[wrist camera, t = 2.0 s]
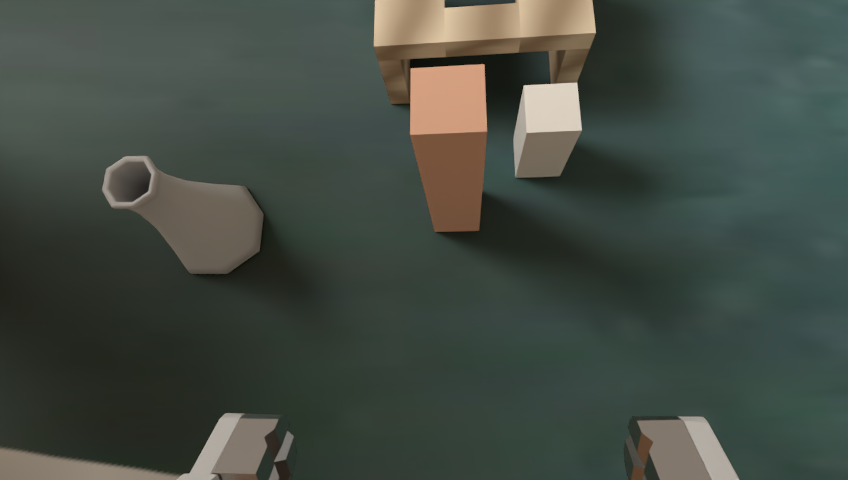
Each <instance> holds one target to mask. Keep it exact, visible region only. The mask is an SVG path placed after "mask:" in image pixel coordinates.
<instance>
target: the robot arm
mask: <svg viewBox="0 0 848 480" xmlns="http://www.w3.org/2000/svg"><path fill="white" fill-rule="evenodd" d="M289 425H290V423H289V420H288V418H287V415H276V414H248V413H225V414H224V415H223V416H222V417H221V418H220V419H219V421H218V422H217V424H216V426H215V428H214V430H213V432H212V433H211V435H210V437H209V439H208V441H207V443H206V444H205V446H204V448H203V450H202V452H201V453H200V455H199V457H198V459H197V461H196V463H195V464H194V466H193V468H192V470H191V472H190V473H189V474H183V475H181V476H180V477H179V478H177V479H176V480H288V479H289V478H290V477H291V476H292V473H293V470H294V467H295V462H296V454H297V449H296V441H295V438H294V436H293V435H292V434H290V433H289V432H288V428H289ZM628 429H629V432H630V434H631V436H630V437H629V438H627V439H626V440H625V445H624V463H625V467H626V472H627V475H628V479H629V480H739V478H738V476H737V474H736V472H735V470H734V469H733V467H732V465H731V463H730V461H729V460H728V458H727V456H726V454H725V452H724V450H723V449H722V447H721V445H720V443H719V441H718V440H717V438H716V436H715V434H714V432H713V430H712V429H711V427H710V425H709V423H708V421H707V420H706V419H705V418H703V417H677V416H632V417H631V419H630V420H629V425H628Z"/></svg>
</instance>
